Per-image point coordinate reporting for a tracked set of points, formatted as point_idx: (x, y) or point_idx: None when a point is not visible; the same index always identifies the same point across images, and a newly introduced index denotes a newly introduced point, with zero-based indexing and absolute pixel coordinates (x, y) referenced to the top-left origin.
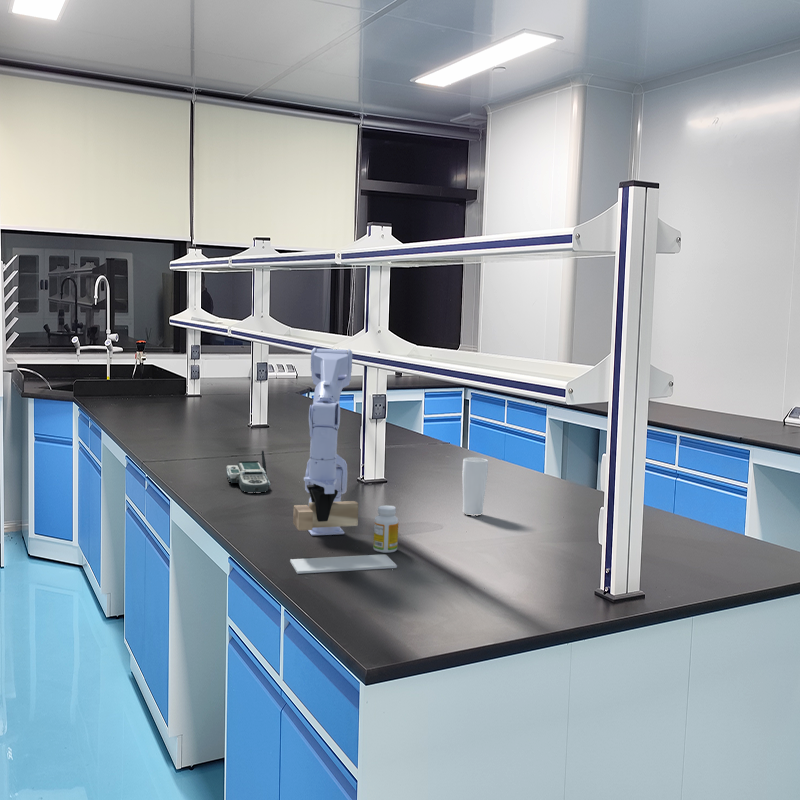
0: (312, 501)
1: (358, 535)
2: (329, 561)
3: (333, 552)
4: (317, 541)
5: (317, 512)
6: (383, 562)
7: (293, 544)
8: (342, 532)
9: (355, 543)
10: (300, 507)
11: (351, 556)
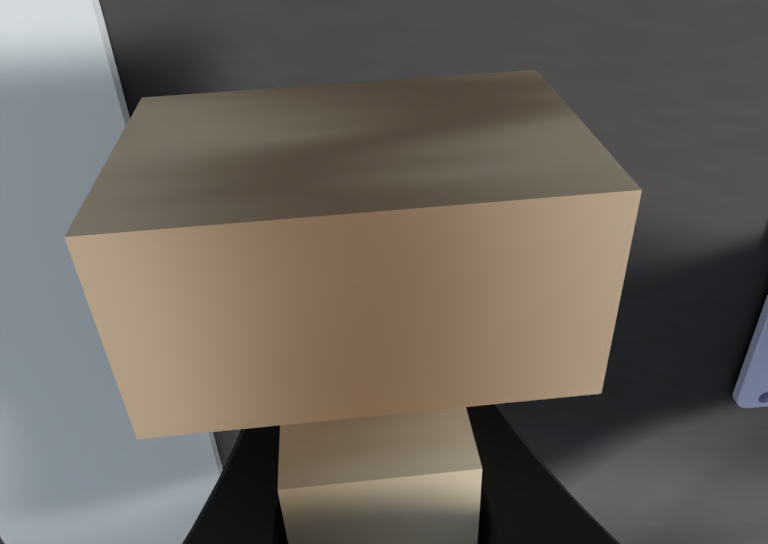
0: (501, 518)
1: (685, 457)
2: (42, 251)
3: None
4: (652, 225)
5: (224, 467)
6: (67, 522)
7: (638, 22)
8: (742, 398)
9: (528, 430)
10: (449, 290)
11: None
